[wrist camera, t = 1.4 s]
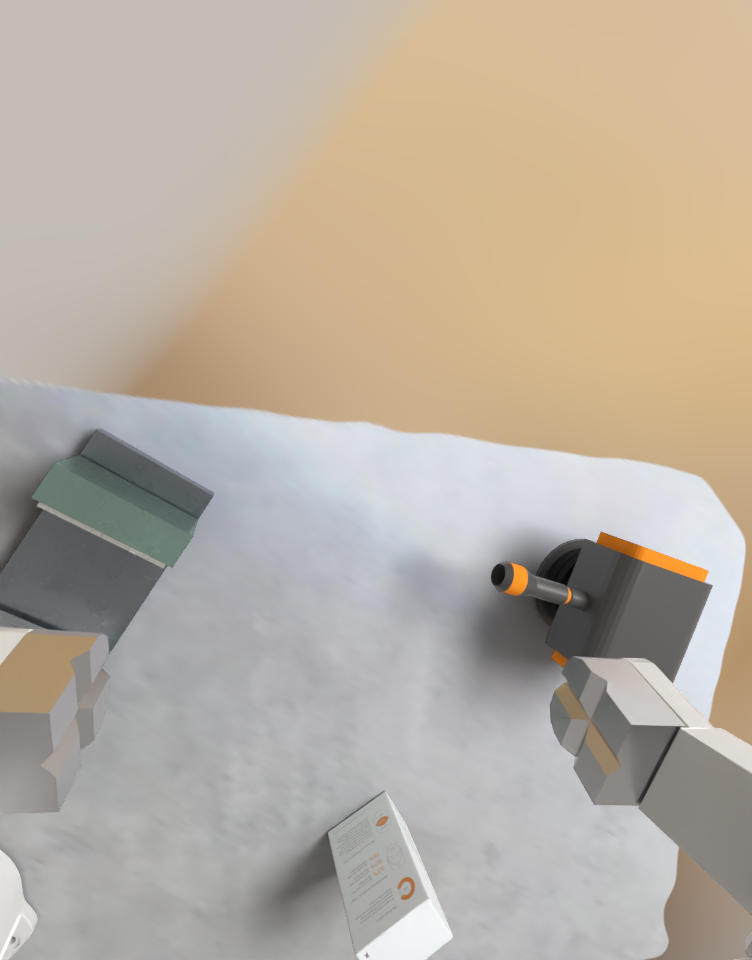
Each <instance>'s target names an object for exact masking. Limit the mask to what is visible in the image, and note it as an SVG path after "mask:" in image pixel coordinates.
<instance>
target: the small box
mask: <svg viewBox="0 0 752 960" xmlns="http://www.w3.org/2000/svg"><path fill="white" fill-rule="evenodd" d="M328 836H329V841H330V846H331V850H332V855H333V860H334V864H335V869H336V873H337V878H338V882H339V886H340V891H341V895H342V899H343V904H344V908H345V912H346V917H347V922H348V926H349V930H350V935H351V939H352V944H353V948H354V953H355V956H356V957H357V958H358V959H359V960H426V959H427V958H428V957H429V956H431V955H432V954H433V953H434V952H435V951H437V950H438V949H439V948H440V947H442V946H443V945H444V944H445V943H447V942H448V941H449V940H451V939H452V938H453V935H452V933H451V930H450V928H449V925H448V923H447V920H446V918H445V916H444V913H443V911H442V908H441V906H440V904H439V901H438V899H437V896H436V894H435V892H434V889H433V887H432V885H431V882H430V880H429V877H428V875H427V872H426V870H425V868H424V865H423V863H422V860H421V858H420V856H419V853H418V851H417V849H416V846H415V844H414V842H413V839H412V837H411V834H410V832H409V830H408V827H407V825H406V824H405V822H404V820H403V819H402V817H401V816H400V814H399V812H398V811H397V809H396V808H395V806H394V804H393V803H392V801H391V800H390V798H389V796H388V795H387V793H386V792H383V793H382V794H380V795H379V796H378V797H376V798H375V799H374V800H372V801H371V802H369V803H368V804H367V805H365V806H364V807H362V808H361V809H360V810H358V811H357V812H355V813H354V814H353V815H351V816H350V817H349V818H347V819H346V820H344V821H343V822H342V823H340V824H339V825H337V826H336V827H335V828H333V829H332V830H330V831H329V832H328Z"/></svg>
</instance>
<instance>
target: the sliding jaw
mask: <svg viewBox="0 0 752 960" xmlns="http://www.w3.org/2000/svg"><path fill="white" fill-rule="evenodd" d="M31 498H32V499H35V500H37V501H39V503H38V504H37V506H38V507H40V508H42V509H44V510H46V511H48V512H50V513H52V514H54V515H56V516H58V517H60V518H62V519H64V520H66V521H68V522H70V523H72V524H74V525H76V526H78V527H80V528H82V529H84V530H86V531H88V532H90V533H93V534H95V535H97V536H99V537H101V538H103V539H105V540H107V541H109V542H111V543H113V544H115V545H117V546H119V547H121V548H123V549H125V550H127V551H129V552H131V553H133V554H135V555H137V556H139V557H141V558H143V559H145V560H147V561H149V562H151V563H153V564H156V565H158V566H160V567H162V568H164V567H165V566H166V565H168V566H170V567H172V568H173V566H174V565H175V563H176V562H177V560H178V558H179V557H180V555H181V554H182V552H183V551H184V549H185V548H186V546H187V545H188V543H189V542H190V540H191V539H192V537H193V535H194V532H195V528H196V525H197V522H198V519H196V518H195V517H193V516H191V515H189V514H187V513H185V512H183V511H182V510H180V509H178V508H176V507H174V506H172V505H171V504H169V503H167V502H165V501H163V500H161V499H160V498H158V497H156V496H154V495H152V494H150V493H148V492H147V491H145V490H143V489H141V488H139V487H137V486H136V485H134V484H132V483H130V482H128V481H126V480H124V479H123V478H121V477H119V476H117V475H115V474H113V473H112V472H110V471H108V470H106V469H104V468H102V467H100V466H99V465H97V464H95V463H93V462H91V461H89V460H88V459H86V458H84V457H82V456H80V455H77V456H74V457H71V458H68V459H65V460H62V461H59V462H56V463H54V464H53V466H52V467H51V469H50V470H49V472H48V473H47V475H46V476H45V478H44V479H43V481H42V482H41V484H40V485H39V487H38V488H37V490H36V491H35V493H34V494H33V496H32V497H31Z"/></svg>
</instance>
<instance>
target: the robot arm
mask: <svg viewBox="0 0 752 960" xmlns="http://www.w3.org/2000/svg"><path fill="white" fill-rule="evenodd" d="M108 655H109V648H108V637H107V636H106V635H104V634H103V633H89V632H75V631H61V630H47V629H35V630H34V629H24V628H10V627H0V814H17V813H41V812H59V811H60V809H61V807H62V805H63V803H64V801H65V799H66V797H67V795H68V793H69V790H70V788H71V786H72V784H73V782H74V780H75V778H76V776H77V774H78V772H79V770H80V768H81V755H80V750H81V749H83V748H84V747H86V746H87V745H88V744H90V743H91V742H92V741H94V740H95V737H96V735H97V733H98V731H99V729H100V727H101V725H102V722H103V719H104V715H105V712H106V709H107V705H108V700H109V692H110V676H109V675H108V674H107V673H106V672H105V671H104V669H103V668H102V666H103V664H104V662H105V660H106V659H107V657H108ZM562 675H563V677H564V680H565V683H564V684H563V685H561V686H560V687H559V688H558V689H557V690H555V692H554V695H553V698H552V701H551V704H550V717H551V723H552V727H553V730H554V733H555V735H556V737H557V739H558V741H559V743H560V744H561V746H562V747H564V748H565V749H566V750H567V751H569V752H570V753H571V754H572V755H574V756H575V760H574V770H575V772H576V773H577V775H578V777H579V779H580V781H581V782H582V784H583V786H584V788H585V790H586V791H587V793H588V795H589V797H590V798H591V800H592V802H593V804H594V805H633V806H639V809H640V810H641V811H642V812H643V813H644V814H645V815H646V816H647V817H648V818H649V819H650V820H651V821H652V822H654V823H655V824H656V825H657V826H658V827H659V828H660V829H661V830H662V831H663V832H664V833H665V834H666V835H667V836H668V837H669V838H670V839H672V840H673V841H674V842H675V843H676V844H677V845H678V846H679V847H680V848H681V849H682V850H683V851H684V852H685V853H686V854H687V855H688V856H690V857H691V858H692V859H693V860H694V861H695V862H696V863H697V864H698V865H699V866H700V867H701V868H702V869H703V870H704V871H705V872H706V873H708V874H709V875H710V876H711V877H712V878H713V879H714V880H715V881H716V882H717V883H718V884H719V885H720V886H721V887H722V888H724V890H726V891H727V892H728V893H729V894H730V895H731V896H732V897H733V898H734V899H735V900H736V901H737V902H738V903H739V904H740V905H741V906H743V907H744V908H745V909H746V910H747V911H748V912H749V913H750V914H751V915H752V746H750V745H749V744H747V743H745V742H744V741H742V740H740V739H739V738H737V737H735V736H734V735H732V734H730V733H729V732H727V731H725V730H724V729H721V728H714V727H713V726H712V725H711V724H710V723H709V722H708V721H707V720H706V719H705V718H704V717H703V715H702V714H701V713H700V712H699V711H698V710H697V709H696V708H695V707H694V706H693V705H692V704H691V703H690V702H689V700H688V699H687V698H686V697H685V696H684V695H683V694H682V693H681V692H680V691H679V690H678V689H677V688H676V687H675V686H674V684H673V683H672V682H671V681H670V680H669V679H668V678H667V677H666V676H665V675H664V674H663V673H662V672H661V671H660V669H659V668H658V667H657V666H656V665H655V664H654V663H652V662H650V661H648V660H647V659H645V658H619V659H618V658H600V657H575V656H572V657H571V658H570V659H569V660H568V661H567V662H566V663H565V666H564V668H563V671H562ZM37 922H38V918H37V915H36V913H35V912H34V910H33V909H32V908H31V907H30V905H29V904H28V903H27V902H26V901H25V899H24V896H23V890H22V882H21V877H20V874H19V872H18V870H17V868H16V866H15V864H14V863H13V862H12V860H11V859H10V858H9V857H8V856H7V855H6V854H5V853H4V852H2V851H1V850H0V960H9V958H10V957H11V956H12V955H13V954H14V953H15V952H16V951H17V950H18V949H19V948H20V947H21V946H22V945H23V943H24V942H25V941H26V940H27V939H28V938H29V937H30V936H31V934H32V932H33V930H34V928H35V926H36V924H37ZM744 951H745V952H746V954H747V956H748V957H749V958H744V959H732V960H752V931H751V933H750V934H749V936H748V937H747V938H746V940H745V950H744Z"/></svg>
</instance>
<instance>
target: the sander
mask: <svg viewBox="0 0 752 960" xmlns="http://www.w3.org/2000/svg"><path fill="white" fill-rule="evenodd" d="M708 572H709V571H708V570H705V569H702V568H700V567H697V566H694V565H691V564H689V563H686V562H683V561H680V560H678V559H675V558H672V557H670V556H667V555H664V554H661V553H659V552H656V551H653V550H650V549H648V548H645V547H642V546H639V545H637V544H634V543H631V542H628V541H625V540H623V539H620V538H617V537H614V536H611V535H608V534H606V533H603V532H601V533H600V535H599V538H598V540H597V543H596V542H593V541H591V540H587V539H575V540H571V541H568V542H565V543H563V544H561V545H560V546H558V547H557V548H555V549H554V550H553V551H552V552H551V553H550V554H549V555H548V556H547V557H546V558H545V560H544V561H543V563H542V564H541V566H540V568H539V570H538V572H537V575H536V576H534V575H533V574H532V573H530V572H529V571H528V570H527V569H526V568H524V567H523V566H521V565H517V564H514V563H511V562H508V561H505V562H502V563H500V564H498V565H496V566H495V567H494V569H493V571H492V574H491V580H492V583H493V585H494V586H495V587H496V589H497V590H498V591H500V592H503V593H507V594H510V595H514V596H531V597H533V598H534V604H535V608H536V610H537V612H538V614H539V616H540V617H541V618H542V619H543V621H544V622H546V623H547V624H548V625H550V626H551V628H550V630H549V633H548V635H547V638H546V641H545V643H547V644H548V645H549V646H551V647H552V648H553V649H555V650H554V653H553V655H552V659H553V660H554V661H556V662H557V663H558V664H559V665H561V666H562V667H563V668H564V666H565V663H566V662H567V661H568V660H569V659H570V658H571V657H572V656H575V657H600V658H618V659H619V658H645V659H647V660H648V661H650V662H652V663H654V664H655V665H656V666H657V667H658V668H659V669H660V671H661V672H662V673H663V674H664V675H665V676H666V677H667V678H668V679H669V680H670V681H671V682H672V683H673V682H674V679H675V677H676V675H677V672H678V670H679V667H680V665H681V662H682V660H683V657H684V655H685V653H686V650H687V648H688V645H689V643H690V640H691V638H692V635H693V633H694V631H695V628H696V626H697V623H698V621H699V618H700V616H701V613H702V611H703V608H704V606H705V604H706V601H707V599H708V596H709V594H710V591H711V589H712V586H713V585H710V584H708V583H705V579H706V577H707V574H708Z"/></svg>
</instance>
